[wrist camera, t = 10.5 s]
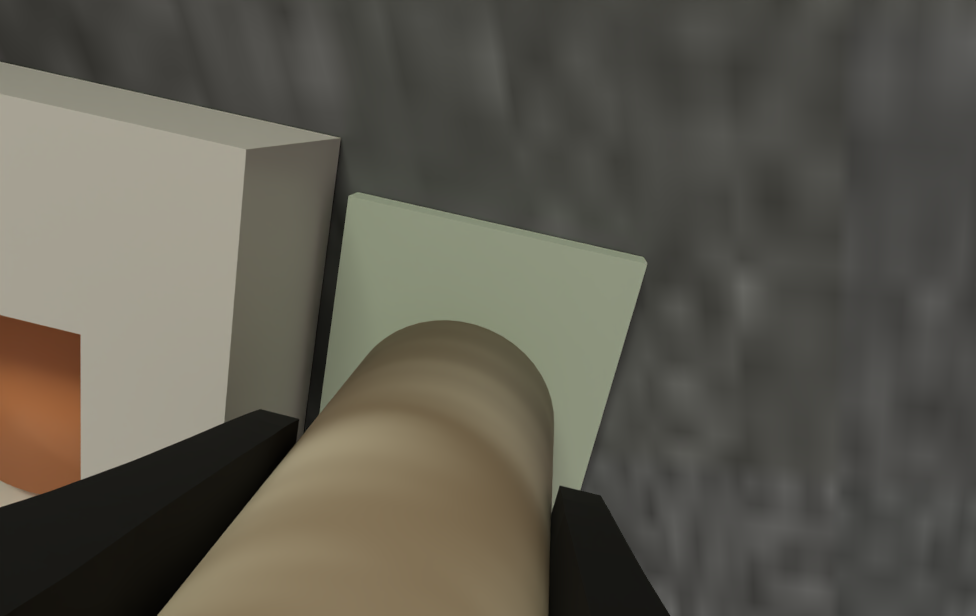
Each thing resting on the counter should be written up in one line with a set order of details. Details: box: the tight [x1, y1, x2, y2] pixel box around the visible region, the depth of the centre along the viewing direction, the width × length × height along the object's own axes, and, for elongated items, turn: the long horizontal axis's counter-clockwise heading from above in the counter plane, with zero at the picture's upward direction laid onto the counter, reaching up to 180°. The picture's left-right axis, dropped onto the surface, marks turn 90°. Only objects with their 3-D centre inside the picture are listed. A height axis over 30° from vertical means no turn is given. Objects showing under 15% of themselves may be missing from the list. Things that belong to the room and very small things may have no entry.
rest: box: [319, 192, 647, 510], centre depth 14 cm, size 6×7×1 cm
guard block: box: [0, 62, 341, 507], centre depth 13 cm, size 11×13×4 cm
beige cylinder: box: [157, 320, 554, 616], centre depth 8 cm, size 4×4×8 cm
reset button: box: [0, 315, 81, 494], centre depth 14 cm, size 5×5×1 cm
